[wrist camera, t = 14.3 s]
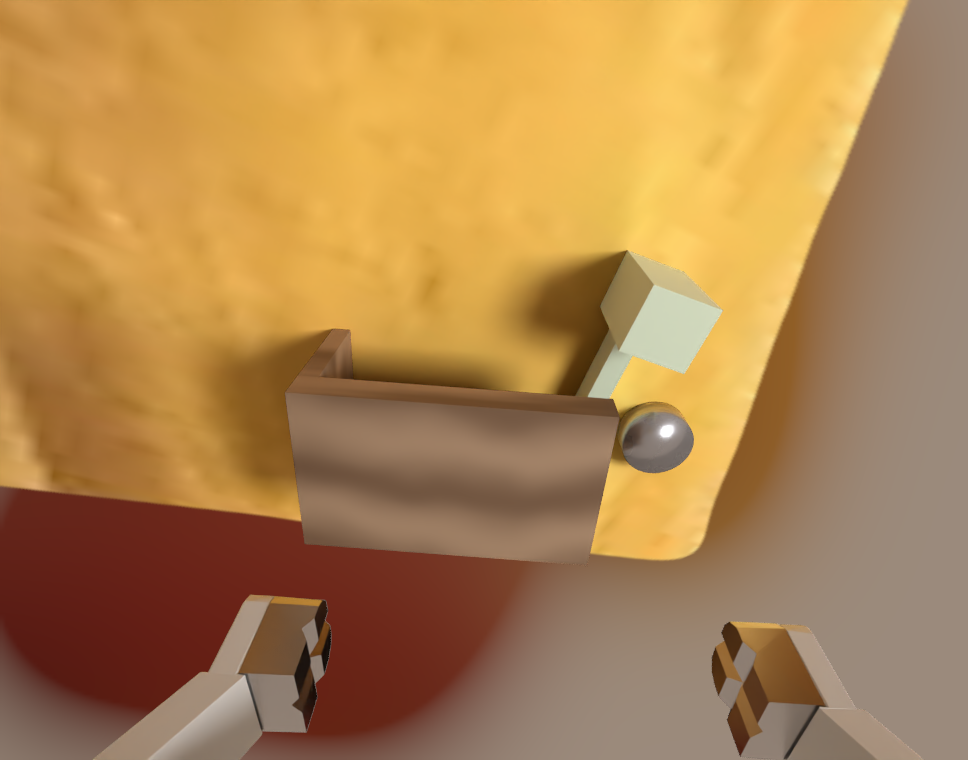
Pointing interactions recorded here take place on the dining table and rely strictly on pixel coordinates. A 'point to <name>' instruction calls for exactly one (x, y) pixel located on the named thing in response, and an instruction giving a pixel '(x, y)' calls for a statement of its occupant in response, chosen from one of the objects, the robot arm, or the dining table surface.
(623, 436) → the steel puck
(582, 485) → the walnut shelf
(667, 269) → the sage paddle
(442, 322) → the dining table surface
